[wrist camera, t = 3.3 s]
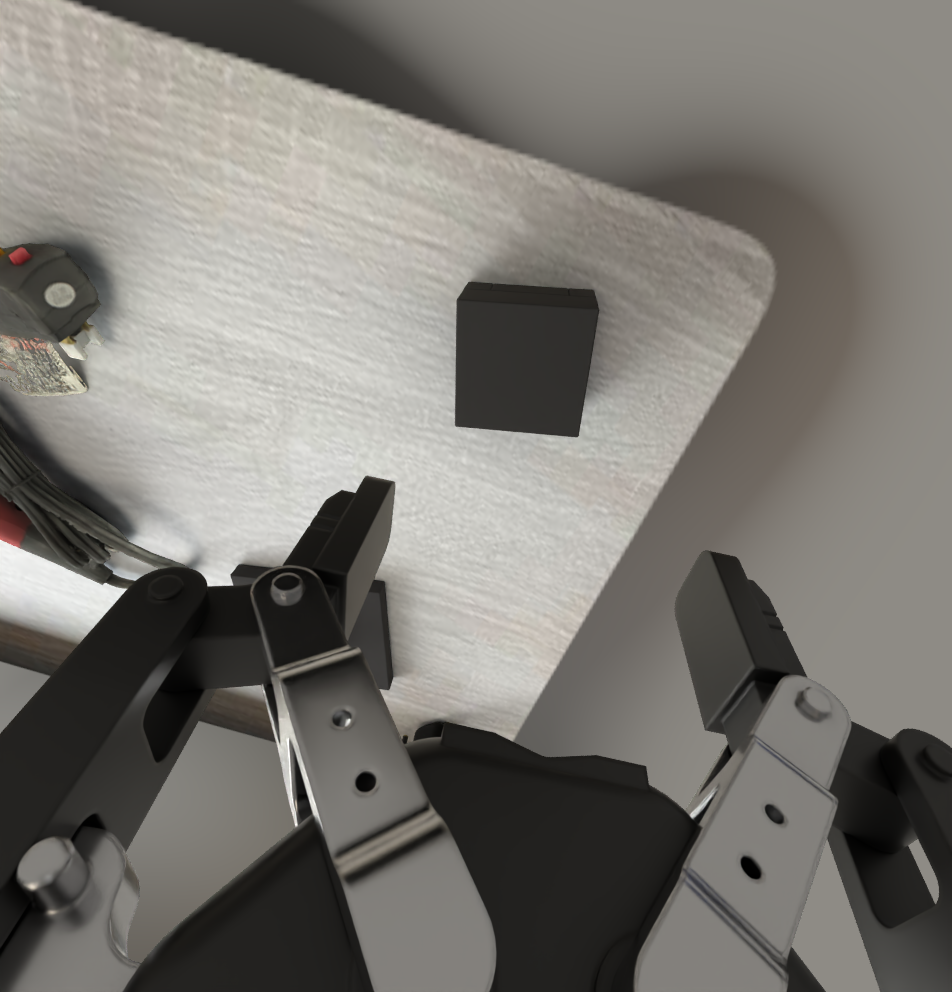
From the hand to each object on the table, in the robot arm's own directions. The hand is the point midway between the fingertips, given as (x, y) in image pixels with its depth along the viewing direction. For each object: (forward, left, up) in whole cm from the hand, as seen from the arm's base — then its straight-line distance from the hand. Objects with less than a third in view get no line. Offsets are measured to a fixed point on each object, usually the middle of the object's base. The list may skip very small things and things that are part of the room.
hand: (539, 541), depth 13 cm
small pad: (+1, 0, -15) cm, 16 cm away
